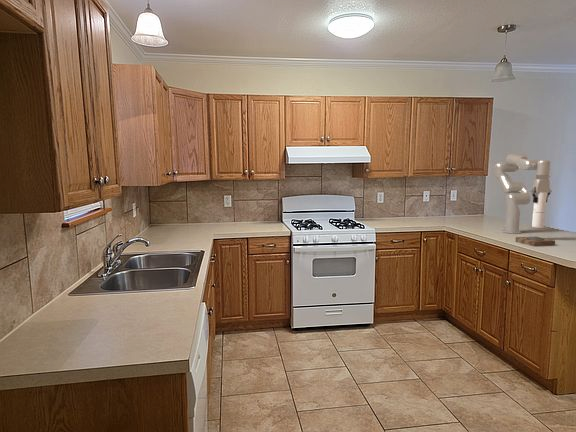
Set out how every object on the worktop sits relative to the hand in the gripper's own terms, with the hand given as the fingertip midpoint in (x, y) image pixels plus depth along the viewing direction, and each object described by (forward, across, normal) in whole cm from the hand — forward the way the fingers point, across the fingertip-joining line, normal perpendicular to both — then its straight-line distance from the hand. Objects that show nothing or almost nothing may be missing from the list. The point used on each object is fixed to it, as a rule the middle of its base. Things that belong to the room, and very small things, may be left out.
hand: (540, 202), depth 265 cm
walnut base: (+27, +13, +13) cm, 32 cm away
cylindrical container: (+18, 0, 0) cm, 18 cm away
